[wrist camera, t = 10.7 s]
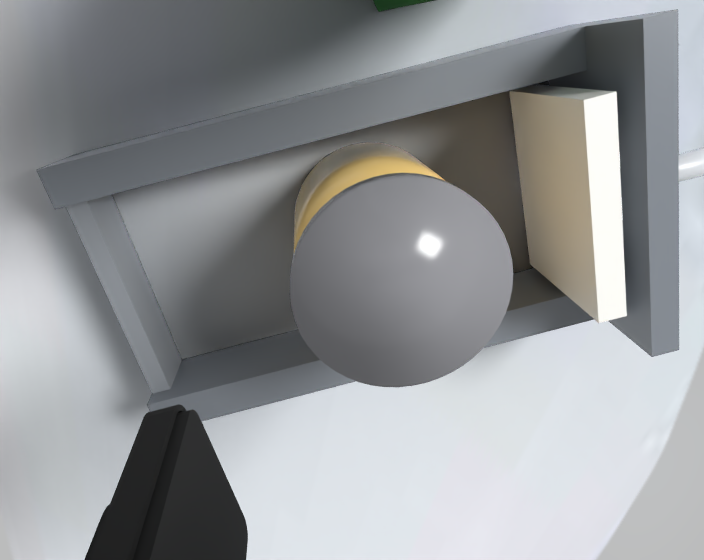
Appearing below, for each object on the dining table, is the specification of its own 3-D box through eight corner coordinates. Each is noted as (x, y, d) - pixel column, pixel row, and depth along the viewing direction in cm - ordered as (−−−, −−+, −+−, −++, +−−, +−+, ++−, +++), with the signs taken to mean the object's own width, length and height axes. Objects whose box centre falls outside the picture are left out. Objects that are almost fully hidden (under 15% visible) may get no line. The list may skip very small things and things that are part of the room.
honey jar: (271, 164, 22) (259, 215, 14) (428, 120, 22) (495, 149, 14) (316, 305, 24) (324, 410, 17) (456, 266, 24) (526, 355, 17)
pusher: (509, 90, 21) (583, 100, 16) (707, 39, 21) (850, 30, 16) (530, 264, 24) (599, 323, 19) (704, 218, 24) (824, 264, 19)
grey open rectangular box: (73, 155, 21) (-17, 191, 15) (569, 25, 21) (678, 9, 15) (176, 389, 25) (138, 490, 19) (588, 282, 25) (678, 349, 19)
